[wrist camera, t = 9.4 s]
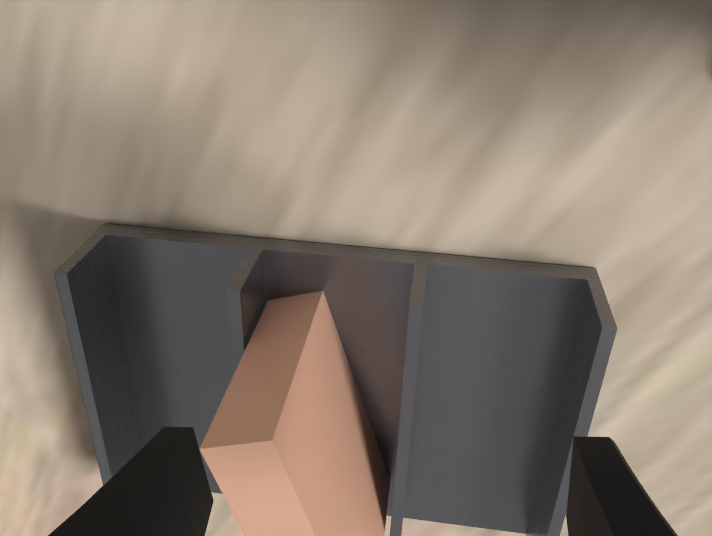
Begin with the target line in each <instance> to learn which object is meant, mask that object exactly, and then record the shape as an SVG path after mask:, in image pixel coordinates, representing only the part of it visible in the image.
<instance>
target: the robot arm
mask: <svg viewBox="0 0 712 536" xmlns="http://www.w3.org/2000/svg"><path fill="white" fill-rule="evenodd" d="M212 504H213V497H212V494H211V490H210V486H209V483H208V479H207V476H206V472H205V468H204V465H203V461H202V457H201V454H200V450H199V446H198V443H197V439H196V435H195V432H194V428H193V427H163V428H162V429H161V430H160V431H159V432H158V433H157V434H156V435H155V436H154V437H153V438H152V439H151V440H150V441H149V442H148V443H147V444H146V445H145V446H144V447H143V448H142V449H141V450H139V451H138V452H137V453H136V454H135V455H134V456H133V457H132V458H131V459H130V460H129V461H128V462H127V463H126V464H125V465H124V466H123V467H122V468H121V469H120V470H119V471H118V472H117V473H116V474H115V475H114V476H113V477H112V478H111V479H110V480H109V481H108V482H107V483H106V484H105V485H104V486H102V487H101V488H100V489H99V490H98V491H97V492H96V493H95V494H94V495H93V496H92V497H91V498H90V499H89V500H88V501H87V502H86V503H85V504H83V505H82V506H81V507H80V508H79V509H78V510H77V511H76V512H75V513H73V514H72V515H71V516H70V517H69V518H68V519H67V520H66V521H64V522H63V523H62V524H61V525H60V526H59V527H58V528H56V529H55V530H54V531H53V532H52V533H51V534H50V535H48V536H204V535H205V532H206V528H207V524H208V520H209V516H210V512H211V508H212ZM566 518H567V526H568V534H569V536H677V534H676V533H675V532H674V530H673V529H672V528H671V526H670V525H669V524H668V522H667V521H666V519H665V518H664V517H663V515H662V514H661V513H660V511H659V510H658V508H657V507H656V506H655V504H654V503H653V501H652V500H651V499H650V497H649V496H648V494H647V493H646V491H645V490H644V488H643V487H642V485H641V484H640V482H639V481H638V479H637V478H636V476H635V475H634V473H633V472H632V470H631V468H630V467H629V465H628V464H627V462H626V460H625V459H624V457H623V455H622V454H621V452H620V450H619V449H618V447H617V445H616V444H615V442H614V441H613V440H612V439H611V438H609V437H580V436H574V437H573V448H572V459H571V469H570V480H569V491H568V501H567V512H566Z"/></svg>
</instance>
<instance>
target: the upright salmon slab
mask: <svg viewBox="0 0 712 536" xmlns="http://www.w3.org/2000/svg"><path fill="white" fill-rule="evenodd" d="M200 451H201V453H202V455H203V457H204V459H205V461H206V463H207V465H208V466H209V468H210V470H211V472H212V474H213V476H214V478H215V480H216V482H217V484H218V486H219V488H220V489H221V491H222V493H223V495H224V497H225V499H226V501H227V503H228V505H229V507H230V509H231V510H232V512H233V514H234V516H235V518H236V520H237V522H238V524H239V526H240V528H241V530H242V531H243V533H244V535H245V536H384V531H385V523H386V514H387V506H388V497H389V489H390V477H389V475H388V472H387V469H386V466H385V463H384V461H383V458H382V455H381V452H380V449H379V446H378V444H377V441H376V438H375V435H374V432H373V430H372V427H371V424H370V421H369V418H368V416H367V413H366V410H365V407H364V404H363V402H362V399H361V396H360V393H359V390H358V388H357V385H356V382H355V379H354V376H353V374H352V371H351V368H350V365H349V362H348V360H347V357H346V354H345V351H344V348H343V346H342V343H341V340H340V337H339V334H338V331H337V329H336V326H335V323H334V320H333V317H332V315H331V312H330V309H329V306H328V303H327V301H326V298H325V295H324V292H323V291H317V292H312V293H306V294H301V295H295V296H289V297H284V298H278V299H272V300H268V302H267V304H266V306H265V308H264V310H263V312H262V315H261V317H260V319H259V321H258V323H257V325H256V328H255V330H254V332H253V334H252V336H251V338H250V341H249V343H248V345H247V347H246V349H245V351H244V354H243V356H242V358H241V360H240V362H239V364H238V367H237V369H236V371H235V373H234V375H233V377H232V380H231V382H230V384H229V386H228V388H227V390H226V393H225V395H224V397H223V399H222V401H221V403H220V406H219V408H218V410H217V412H216V414H215V416H214V419H213V421H212V423H211V425H210V427H209V429H208V432H207V434H206V436H205V438H204V440H203V442H202V445H201V447H200Z"/></svg>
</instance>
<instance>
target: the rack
mask: <svg viewBox="0 0 712 536" xmlns="http://www.w3.org/2000/svg"><path fill="white" fill-rule="evenodd" d="M54 275H55V279H56V283H57V288H58V292H59V296H60V301H61V305H62V309H63V314H64V318H65V322H66V326H67V331H68V335H69V339H70V344H71V348H72V352H73V357H74V361H75V365H76V370H77V374H78V378H79V383H80V387H81V391H82V396H83V400H84V404H85V408H86V413H87V417H88V421H89V426H90V430H91V434H92V439H93V443H94V447H95V452H96V456H97V460H98V465H99V469H100V473H101V478H102V482H103V486H104V485H105V484H106V483H107V482H108V481H109V480H110V479H111V478H112V477H113V476H114V475H115V474H116V473H117V472H118V471H119V470H120V469H121V468H122V467H123V466H124V465H125V464H126V463H127V462H128V461H129V460H130V459H131V458H132V457H133V456H134V455H135V454H136V453H137V452H138V451H139V450H141V449H142V448H143V447H144V446H145V445H146V444H147V443H148V442H149V441H150V440H151V439H152V438H153V437H154V436H155V435H156V434H157V433H158V432H159V431H160V430H161V429H162V428H163V427H193V428H194V432H195V435H196V439H197V443H198V446H199V450H200V447H201V445H202V442H203V440H204V438H205V436H206V434H207V432H208V429H209V427H210V425H211V423H212V421H213V419H214V416H215V414H216V412H217V410H218V408H219V406H220V403H221V401H222V399H223V397H224V395H225V393H226V390H227V388H228V386H229V384H230V382H231V380H232V377H233V375H234V373H235V371H236V369H237V367H238V364H239V362H240V360H241V358H242V356H243V354H244V351H245V349H246V347H247V345H248V343H249V341H250V338H251V336H252V334H253V332H254V330H255V328H256V325H257V323H258V321H259V319H260V317H261V315H262V312H263V310H264V308H265V306H266V304H267V302H268V300H272V299H278V298H284V297H289V296H295V295H301V294H306V293H312V292H317V291H323V292H324V295H325V298H326V301H327V303H328V306H329V309H330V312H331V315H332V317H333V320H334V323H335V326H336V329H337V331H338V334H339V337H340V340H341V343H342V346H343V348H344V351H345V354H346V357H347V360H348V362H349V365H350V368H351V371H352V374H353V376H354V379H355V382H356V385H357V388H358V390H359V393H360V396H361V399H362V402H363V404H364V407H365V410H366V413H367V416H368V418H369V421H370V424H371V427H372V430H373V432H374V435H375V438H376V441H377V444H378V446H379V449H380V452H381V455H382V458H383V461H384V463H385V466H386V469H387V472H388V475H389V477H390V489H389V497H388V506H387V514H386V515H388V516H392V517H391V529H390V536H401V532H402V521H403V518H411V519H418V520H426V521H433V522H441V523H449V524H456V525H464V526H471V527H479V528H486V529H494V530H502V531H509V532H517V533H524V534H526V536H560V532H561V529H562V525H563V521H564V518H565V514H566V511H567V501H568V491H569V480H570V469H571V459H572V448H573V437H574V436H580V437H587V435H588V432H589V428H590V425H591V421H592V417H593V414H594V410H595V407H596V403H597V399H598V396H599V392H600V389H601V385H602V381H603V378H604V374H605V371H606V367H607V364H608V360H609V356H610V353H611V349H612V346H613V342H614V338H615V335H616V331H617V327H616V324H615V321H614V318H613V315H612V313H611V310H610V307H609V304H608V301H607V298H606V295H605V293H604V290H603V287H602V284H601V281H600V278H599V276H598V273H597V270H596V268H589V267H578V266H567V265H556V264H545V263H534V262H523V261H512V260H501V259H490V258H479V257H468V256H458V255H447V254H436V253H425V252H414V251H403V250H392V249H381V248H370V247H359V246H348V245H337V244H326V243H315V242H304V241H293V240H282V239H271V238H260V237H249V236H238V235H227V234H216V233H205V232H194V231H183V230H172V229H161V228H150V227H139V226H128V225H117V224H106V223H105V224H104V225H103V226H102V227H101V228H100V229H99V230H98V231H97V232H96V233H95V234H94V235H93V236H92V237H91V238H90V239H89V240H87V241H86V242H85V243H84V244H83V245H82V246H81V247H80V248H79V249H78V250H77V251H76V252H75V253H74V254H73V255H72V256H71V257H70V258H69V259H68V260H67V261H66V262H64V263H63V264H62V265H61V266H60V267H59V268H58V269H57V270H56V271H55V272H54ZM200 454H201V457H202V461H203V465H204V468H205V472H206V476H207V479H208V483H209V486H210V490H211V492H214V493H221V494H223V493H222V491H221V489H220V488H219V486H218V484H217V482H216V480H215V478H214V476H213V474H212V472H211V470H210V468H209V466H208V465H207V463H206V461H205V459H204V457H203V455H202V453H201V451H200Z"/></svg>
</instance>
